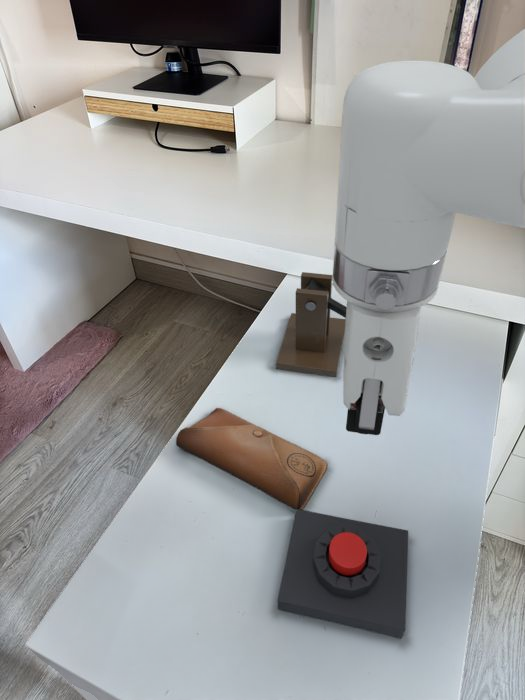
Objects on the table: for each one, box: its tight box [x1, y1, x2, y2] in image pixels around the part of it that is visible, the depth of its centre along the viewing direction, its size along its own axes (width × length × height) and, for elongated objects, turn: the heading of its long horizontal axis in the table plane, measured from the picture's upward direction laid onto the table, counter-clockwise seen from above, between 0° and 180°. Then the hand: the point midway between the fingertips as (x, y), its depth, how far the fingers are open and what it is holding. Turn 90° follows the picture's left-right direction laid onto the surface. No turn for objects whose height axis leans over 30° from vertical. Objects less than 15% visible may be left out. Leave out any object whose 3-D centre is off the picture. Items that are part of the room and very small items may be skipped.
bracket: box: [275, 271, 346, 377], centre depth 74 cm, size 9×12×12 cm
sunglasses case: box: [175, 407, 328, 511], centre depth 62 cm, size 18×7×7 cm
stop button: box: [329, 532, 367, 576], centre depth 49 cm, size 4×4×2 cm
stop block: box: [277, 509, 409, 639], centre depth 51 cm, size 12×10×4 cm
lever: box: [304, 279, 347, 319], centre depth 72 cm, size 12×5×2 cm, turn 77°
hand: (363, 426), depth 48 cm, fingers closed
